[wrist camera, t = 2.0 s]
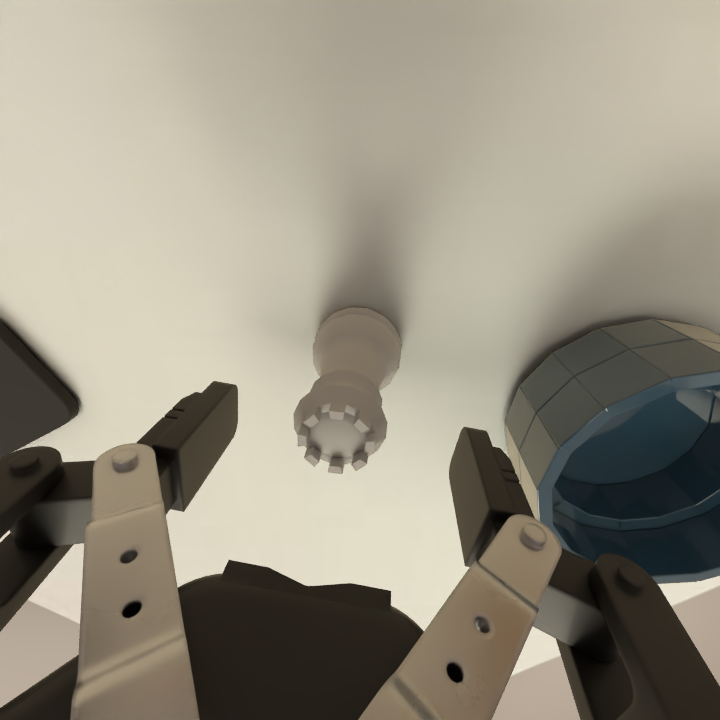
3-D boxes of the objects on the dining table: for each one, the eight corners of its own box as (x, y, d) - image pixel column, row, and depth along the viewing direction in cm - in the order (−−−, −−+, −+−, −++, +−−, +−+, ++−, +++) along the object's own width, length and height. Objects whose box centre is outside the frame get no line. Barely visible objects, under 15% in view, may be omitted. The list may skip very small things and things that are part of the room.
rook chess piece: (412, 317, 18) (424, 405, 11) (387, 391, 20) (383, 508, 13) (325, 293, 18) (277, 366, 10) (309, 370, 20) (259, 476, 12)
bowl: (548, 297, 17) (611, 343, 12) (787, 338, 17) (952, 402, 12) (477, 474, 22) (501, 559, 17) (661, 507, 22) (740, 602, 17)
